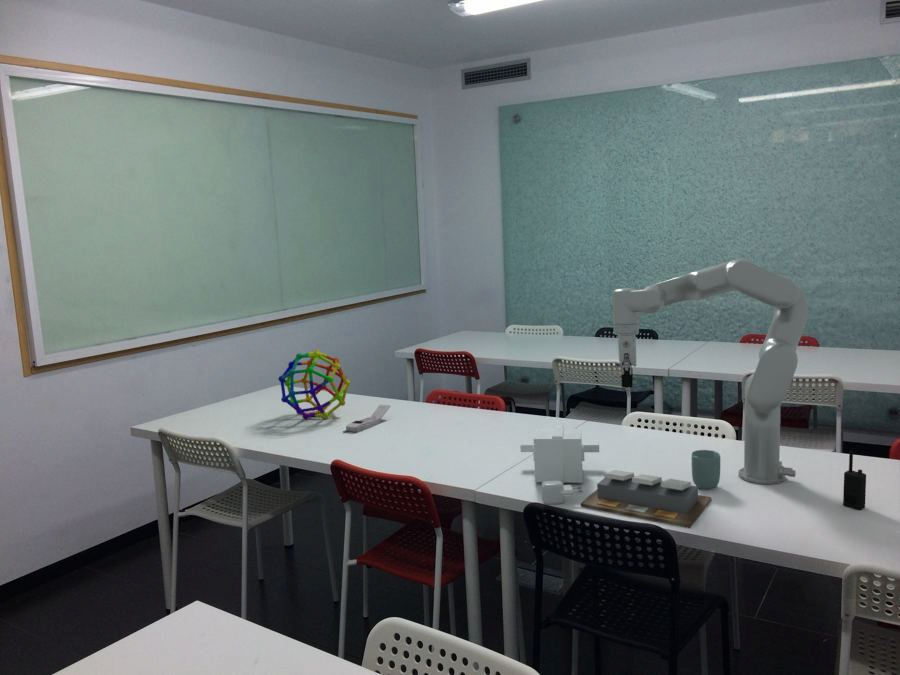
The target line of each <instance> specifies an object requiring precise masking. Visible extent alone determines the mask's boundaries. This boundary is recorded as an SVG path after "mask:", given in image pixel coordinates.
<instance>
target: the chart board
mask: <svg viewBox="0 0 900 675" xmlns="http://www.w3.org/2000/svg"><path fill="white" fill-rule="evenodd" d="M712 499H713V498H712V496H707V495H701V494H698V501H697V503H696V504H695V505H694V506H693V507H692V509H691V510H690V511H689V512H688V514H685V513H680V512H674V511H669V510H663V509H658V508H652V507H647V506H642V505H636V504H631V503H625V502H620V501H615V500H609V499H604V498H598V495H597V489H596V490H594V491H593V492H592V493H591V494H590V495H589V496H587V497H586V498H585V499H584V500H582V502H580V506H582V507H581V508H585V509H590V510H595V511H596V510H597V511H601V512H605V513H611V514H617V515H621V516H624V517H625V516H627V517H632V518H635V519H641V520H646V521H647V520H648V521H651V522H652V521H653V522H657V523H662V524H668V525H673V526H677V527H682V528H687V527H688V529H691V528H692V527H693V525H694V524H695V523H696V521H697V520H698V518H700V516H701V515H702V513H704V511H705V510H706V508H707V507H708V505H709V504H710V503H711V502H712ZM580 506H579V507H580Z"/></svg>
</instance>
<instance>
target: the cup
mask: <svg viewBox="0 0 900 675" xmlns="http://www.w3.org/2000/svg"><path fill="white" fill-rule="evenodd" d="M691 477H692V482H693V484H694V486H697V487H698V489H700V490H706V491H708V490H714V489H716V488H717V487H718V485H719V483H720V478H721V454H720V453H719V452H718V451H715V450H709V449H700V450H694V451H692V452H691Z"/></svg>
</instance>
